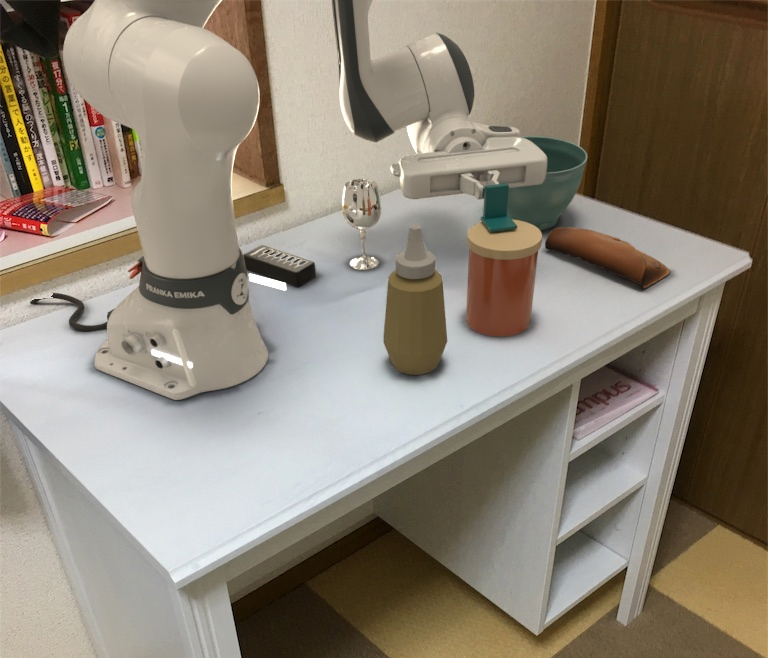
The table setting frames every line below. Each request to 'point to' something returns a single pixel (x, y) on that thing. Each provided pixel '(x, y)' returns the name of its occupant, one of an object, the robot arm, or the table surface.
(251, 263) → the multiport hub
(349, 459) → the table surface
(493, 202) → the teal l-shaped bracket
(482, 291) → the lidded orange canister
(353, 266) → the wineglass
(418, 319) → the squeeze bottle
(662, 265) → the sunglasses case
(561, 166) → the flower pot
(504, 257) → the cup lid
